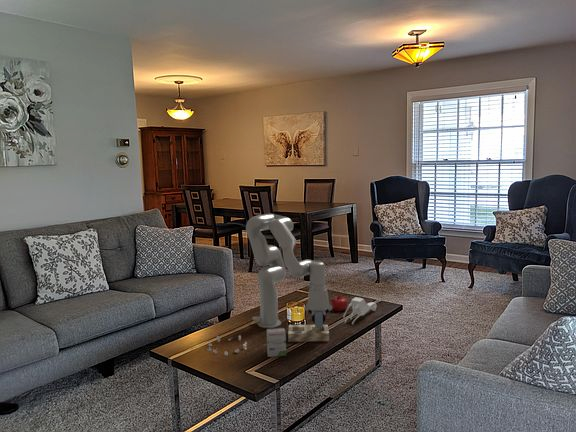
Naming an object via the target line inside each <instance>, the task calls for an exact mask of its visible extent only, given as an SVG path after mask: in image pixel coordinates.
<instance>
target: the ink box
mask: <svg viewBox="0 0 576 432" xmlns="http://www.w3.org/2000/svg"><path fill="white" fill-rule="evenodd" d="M266 347H267V348H266V349H267V350H266V351H267V357H268V358H271V357H282V356H283V357H284V356H287V334H286V329H285V327H279V328H278V327H276V328H266Z"/></svg>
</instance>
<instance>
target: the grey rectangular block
mask: <svg viewBox="0 0 576 432" xmlns="http://www.w3.org/2000/svg"><path fill="white" fill-rule="evenodd" d="M314 314H315V323H314V325H315V328H323V325H324V323H323V310H314Z"/></svg>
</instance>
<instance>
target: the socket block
mask: <svg viewBox="0 0 576 432" xmlns="http://www.w3.org/2000/svg"><path fill="white" fill-rule="evenodd" d="M287 337H288V338H287V339H288V341H287V342H330V330H329V325H328V324H323V328H315V324H289V325H288V334H287Z"/></svg>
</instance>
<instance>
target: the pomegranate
mask: <svg viewBox="0 0 576 432" xmlns="http://www.w3.org/2000/svg"><path fill="white" fill-rule="evenodd" d="M348 302H349V301H348V300H347V299H346V297H344V296H342V295H341V296H340V294H337V296H333V299H331V303H330V305H331V306H332V311H335V312H342V311H346V310H347V308H348V305H349V303H348Z"/></svg>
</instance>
